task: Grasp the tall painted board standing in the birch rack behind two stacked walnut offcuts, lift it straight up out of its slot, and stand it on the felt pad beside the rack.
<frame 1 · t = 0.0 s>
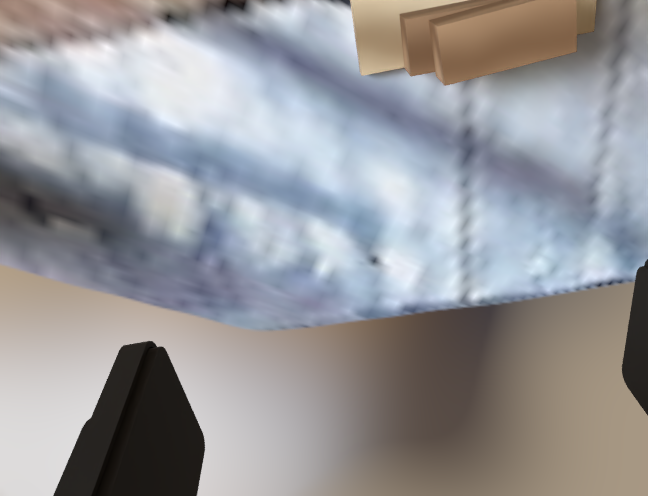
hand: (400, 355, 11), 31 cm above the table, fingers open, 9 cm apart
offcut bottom: (475, 27, 36), point 1 cm above the table, touching offcut top, rack
offcut top: (494, 32, 34), point 4 cm above the table, touching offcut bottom
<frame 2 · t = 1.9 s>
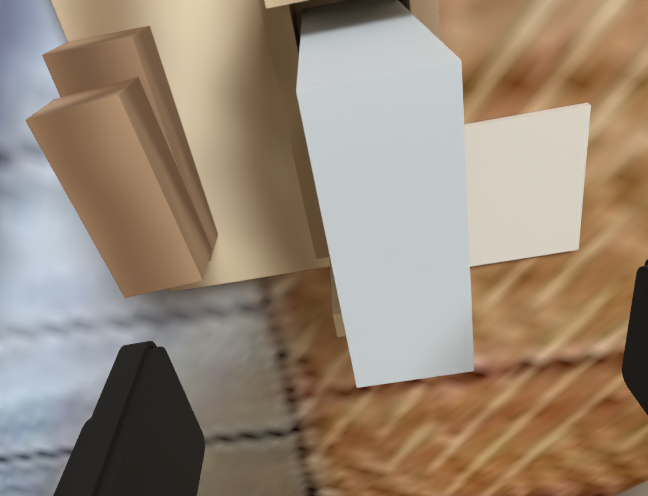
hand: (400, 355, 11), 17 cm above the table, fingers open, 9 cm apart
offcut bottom: (150, 147, 25), point 1 cm above the table, touching offcut top, rack
offcut top: (139, 180, 23), point 4 cm above the table, touching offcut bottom
tall sheet: (361, 109, 24), point 1 cm above the table, touching rack
rack: (274, 116, 25), on the table
felt pad: (511, 191, 27), on the table
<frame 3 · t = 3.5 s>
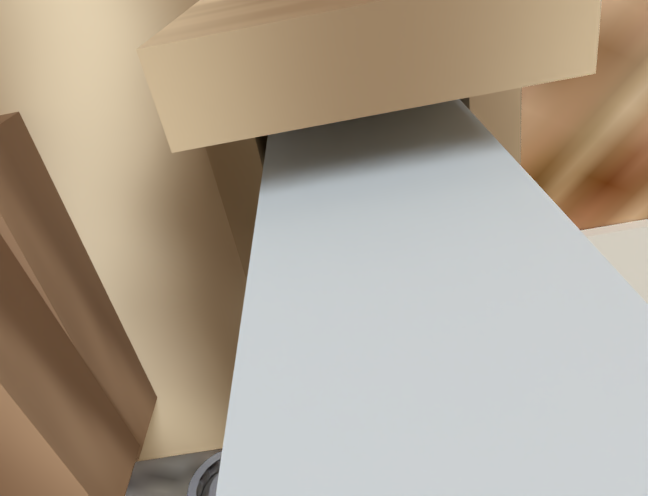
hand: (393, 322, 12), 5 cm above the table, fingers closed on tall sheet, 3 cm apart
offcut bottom: (42, 288, 16), point 1 cm above the table, touching offcut top, rack
offcut top: (11, 360, 14), point 4 cm above the table, touching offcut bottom
tall sheet: (371, 230, 15), point 1 cm above the table, touching gripper, rack
rack: (237, 234, 16), on the table
felt pad: (586, 325, 19), on the table
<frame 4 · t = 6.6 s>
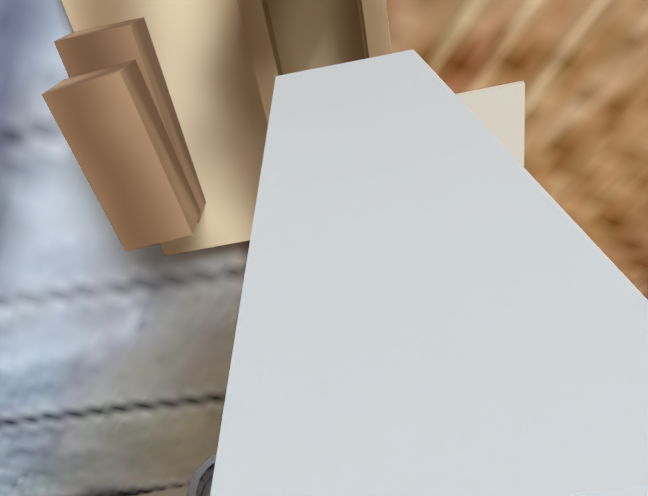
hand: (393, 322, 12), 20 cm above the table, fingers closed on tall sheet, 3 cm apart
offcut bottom: (145, 124, 28), point 1 cm above the table, touching offcut top, rack
offcut top: (137, 150, 26), point 4 cm above the table, touching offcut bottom
tall sheet: (368, 218, 16), point 15 cm above the table, touching gripper
rack: (253, 96, 29), on the table
felt pad: (461, 160, 31), on the table
when the fingers open (7 cm above the table, at t = 9.5 s): tall sheet drops 1 cm, resting on felt pad.
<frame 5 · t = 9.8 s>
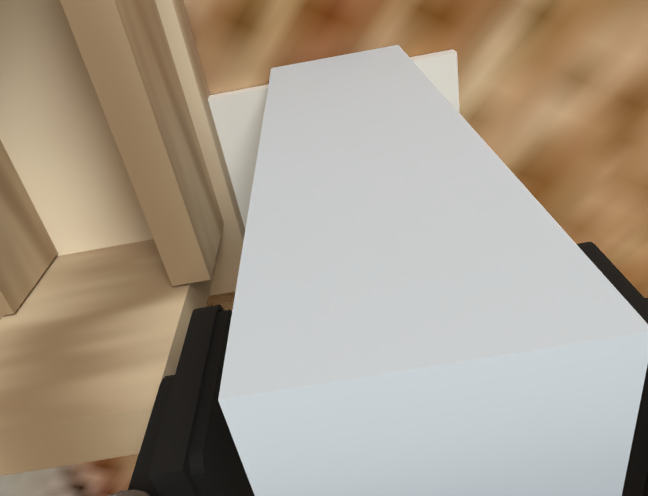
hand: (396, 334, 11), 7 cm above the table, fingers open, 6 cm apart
tall sheet: (356, 203, 17), resting on felt pad
felt pad: (350, 198, 17), on the table
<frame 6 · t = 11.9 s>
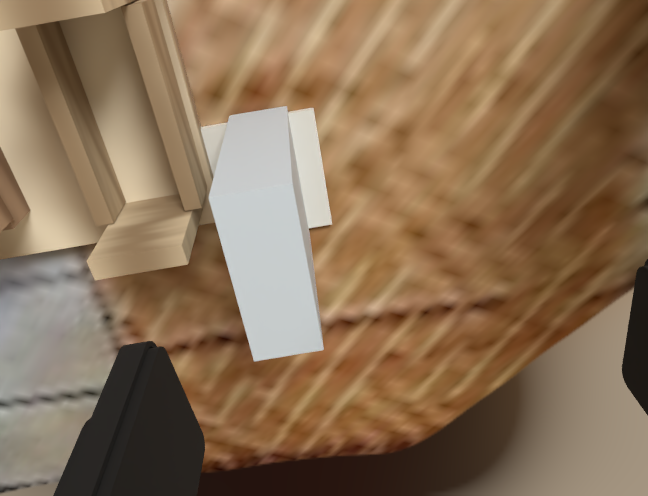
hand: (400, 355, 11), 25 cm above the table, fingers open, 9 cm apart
tall sheet: (272, 179, 35), resting on felt pad
rack: (68, 116, 32), on the table
felt pad: (270, 177, 35), on the table
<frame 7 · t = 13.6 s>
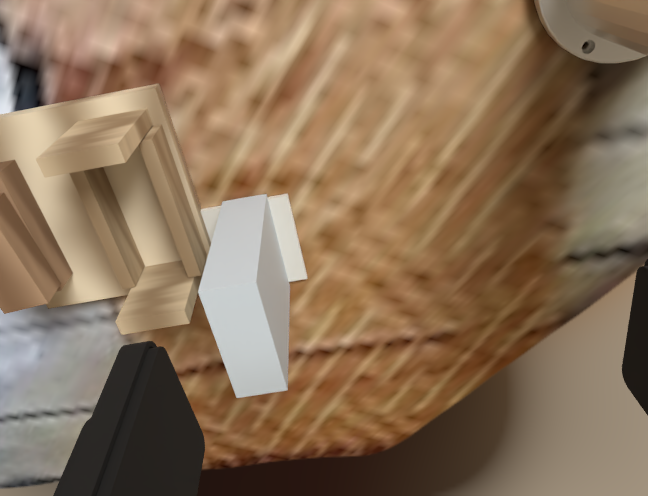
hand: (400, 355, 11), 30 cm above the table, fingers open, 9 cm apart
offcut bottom: (24, 223, 41), point 1 cm above the table, touching offcut top, rack
offcut top: (12, 245, 39), point 4 cm above the table, touching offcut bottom
tall sheet: (258, 246, 44), resting on felt pad
rack: (100, 203, 42), on the table
felt pad: (256, 244, 44), on the table
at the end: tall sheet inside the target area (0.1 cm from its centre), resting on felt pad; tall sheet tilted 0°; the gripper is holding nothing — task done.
